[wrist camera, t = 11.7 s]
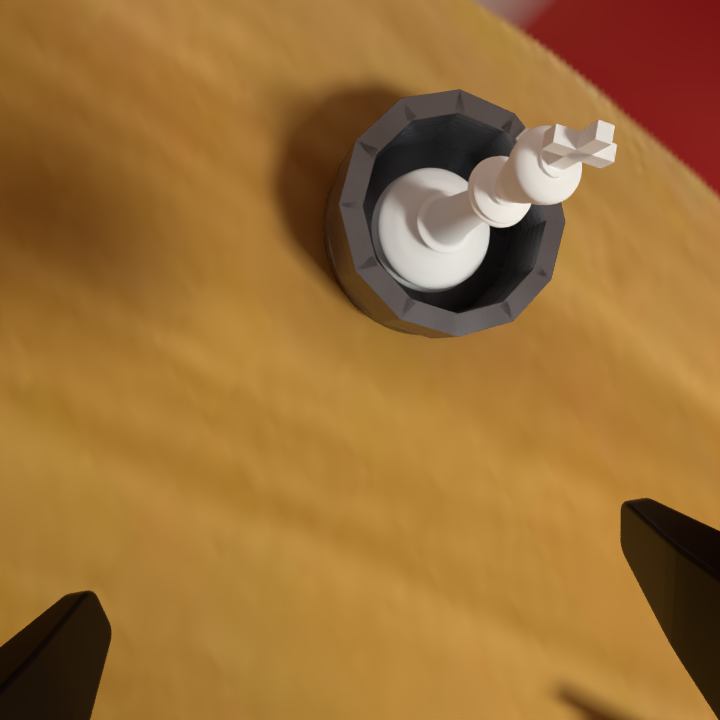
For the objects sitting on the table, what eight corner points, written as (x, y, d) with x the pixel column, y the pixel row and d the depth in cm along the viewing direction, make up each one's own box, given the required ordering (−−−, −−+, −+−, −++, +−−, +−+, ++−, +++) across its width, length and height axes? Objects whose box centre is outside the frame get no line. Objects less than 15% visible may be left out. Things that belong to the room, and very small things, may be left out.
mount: (421, 376, 22) (460, 381, 19) (279, 225, 20) (291, 198, 17) (546, 242, 24) (604, 223, 20) (423, 90, 22) (462, 40, 18)
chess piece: (472, 303, 22) (676, 266, 12) (361, 278, 20) (487, 213, 11) (492, 189, 22) (709, 59, 12) (382, 156, 20) (526, -16, 11)
